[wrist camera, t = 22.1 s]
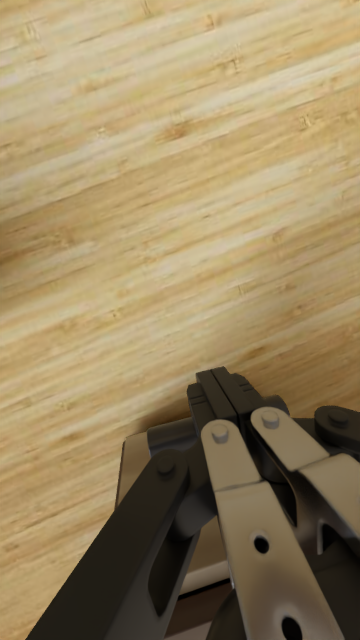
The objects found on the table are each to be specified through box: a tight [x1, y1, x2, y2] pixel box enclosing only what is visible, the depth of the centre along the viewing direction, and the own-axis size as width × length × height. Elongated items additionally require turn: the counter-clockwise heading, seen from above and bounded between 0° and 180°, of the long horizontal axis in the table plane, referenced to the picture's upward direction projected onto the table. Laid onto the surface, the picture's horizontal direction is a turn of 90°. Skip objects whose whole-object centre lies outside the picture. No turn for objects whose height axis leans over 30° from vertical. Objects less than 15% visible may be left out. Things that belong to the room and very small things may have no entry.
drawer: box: [118, 395, 290, 600], centre depth 15 cm, size 20×12×9 cm, turn 10°
